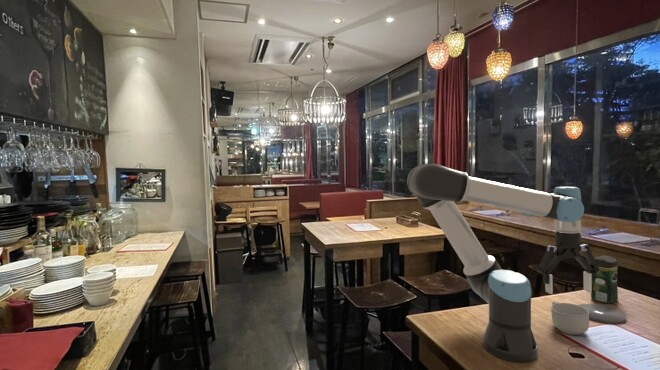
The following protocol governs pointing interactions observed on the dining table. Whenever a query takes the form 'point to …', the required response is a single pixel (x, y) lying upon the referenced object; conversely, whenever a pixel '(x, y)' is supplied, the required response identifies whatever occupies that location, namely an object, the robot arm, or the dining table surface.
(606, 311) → the charcoal plate
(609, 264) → the coffee jar
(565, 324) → the teacup
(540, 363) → the dining table surface
